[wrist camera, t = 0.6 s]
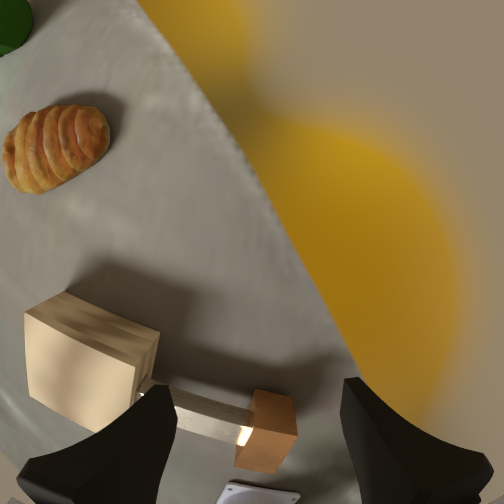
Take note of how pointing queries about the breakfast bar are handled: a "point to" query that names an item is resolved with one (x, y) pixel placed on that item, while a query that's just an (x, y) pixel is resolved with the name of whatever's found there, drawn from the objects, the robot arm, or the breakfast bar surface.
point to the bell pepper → (14, 24)
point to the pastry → (54, 146)
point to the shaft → (239, 424)
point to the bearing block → (86, 359)
